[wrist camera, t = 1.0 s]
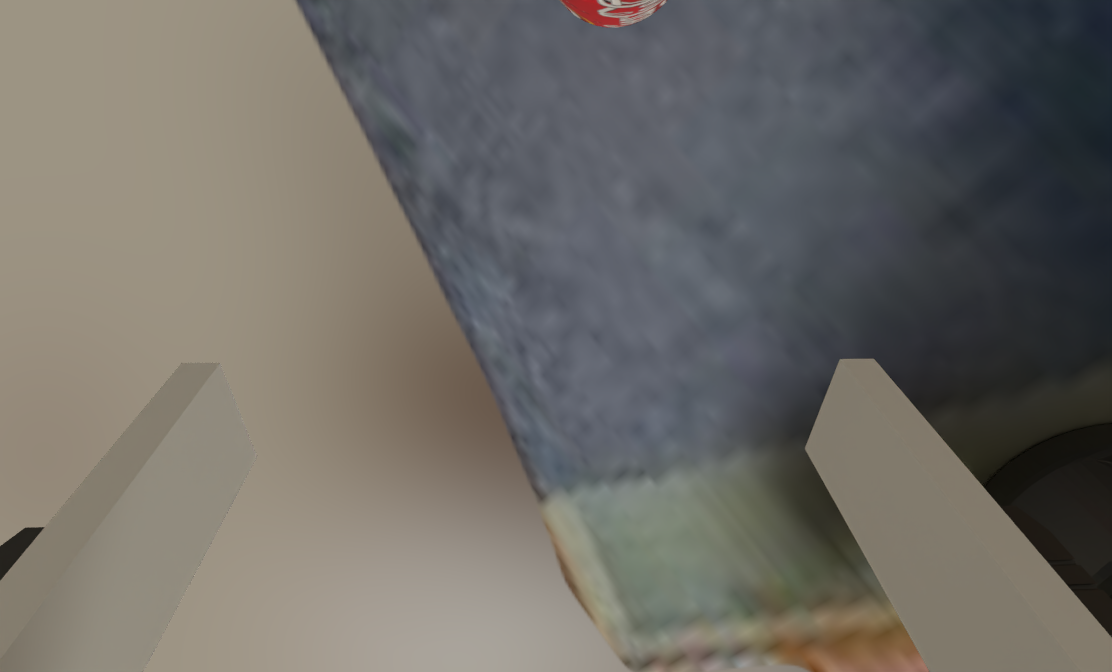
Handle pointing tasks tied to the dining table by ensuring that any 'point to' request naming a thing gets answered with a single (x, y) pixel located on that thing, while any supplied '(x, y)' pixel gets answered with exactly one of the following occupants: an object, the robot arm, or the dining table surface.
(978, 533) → the robot arm
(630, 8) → the soda can
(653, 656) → the dining table surface
